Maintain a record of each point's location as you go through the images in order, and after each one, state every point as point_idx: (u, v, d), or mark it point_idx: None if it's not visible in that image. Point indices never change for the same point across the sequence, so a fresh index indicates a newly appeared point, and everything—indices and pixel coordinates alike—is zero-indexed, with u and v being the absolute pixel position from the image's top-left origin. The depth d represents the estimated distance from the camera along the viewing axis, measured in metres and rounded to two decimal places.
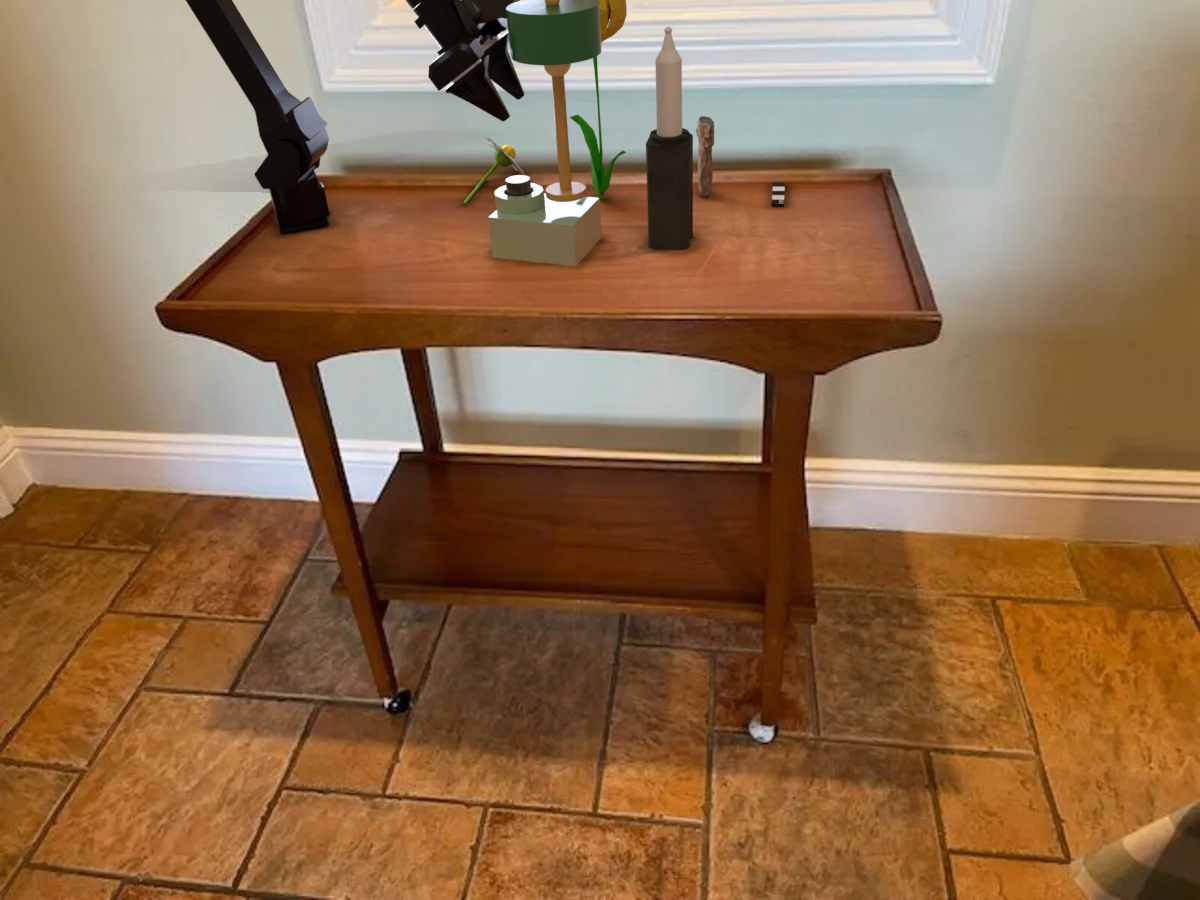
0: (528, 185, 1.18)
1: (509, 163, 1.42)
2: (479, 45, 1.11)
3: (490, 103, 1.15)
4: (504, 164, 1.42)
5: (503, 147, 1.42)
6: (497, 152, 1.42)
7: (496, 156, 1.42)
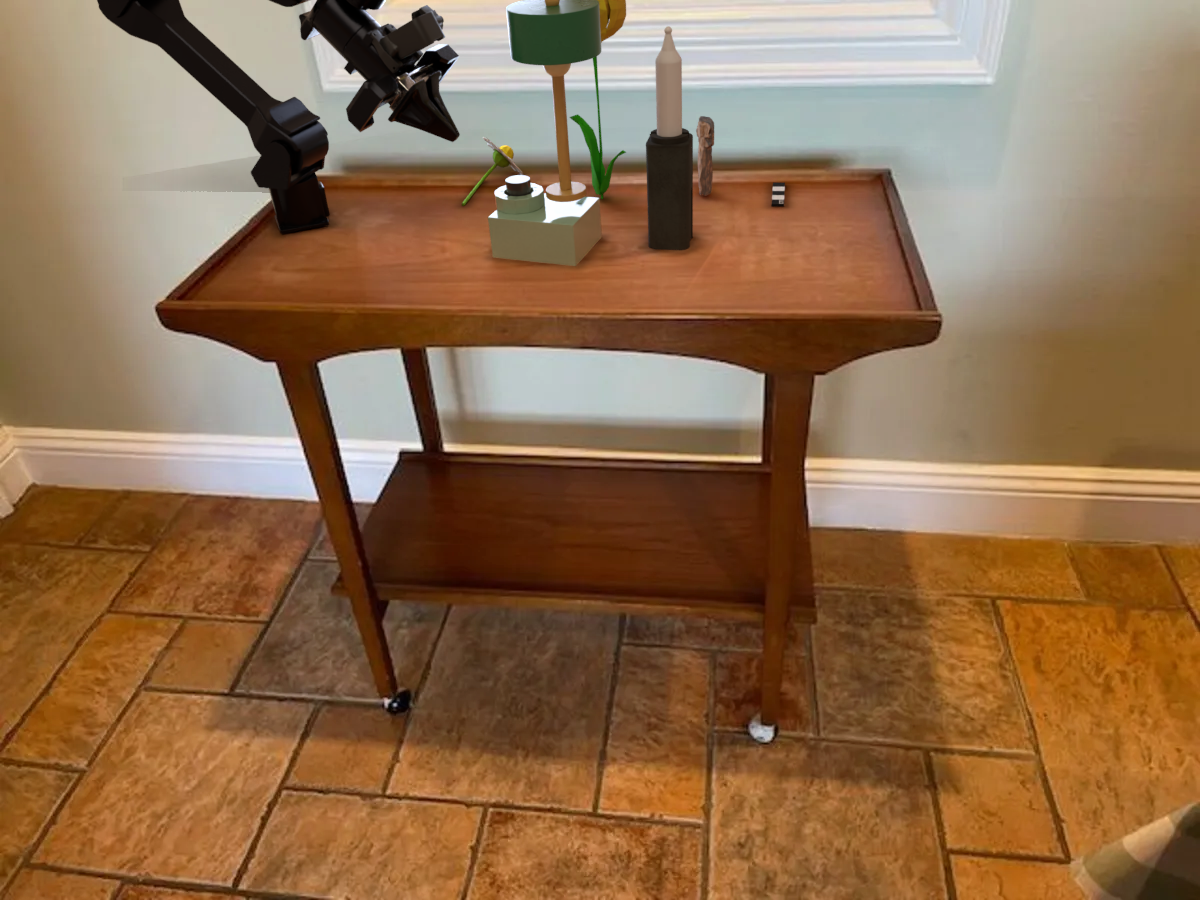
0: (528, 185, 1.18)
1: (507, 163, 1.42)
2: (392, 81, 1.10)
3: (435, 125, 1.17)
4: (502, 164, 1.42)
5: (501, 147, 1.42)
6: (495, 152, 1.41)
7: (494, 156, 1.41)
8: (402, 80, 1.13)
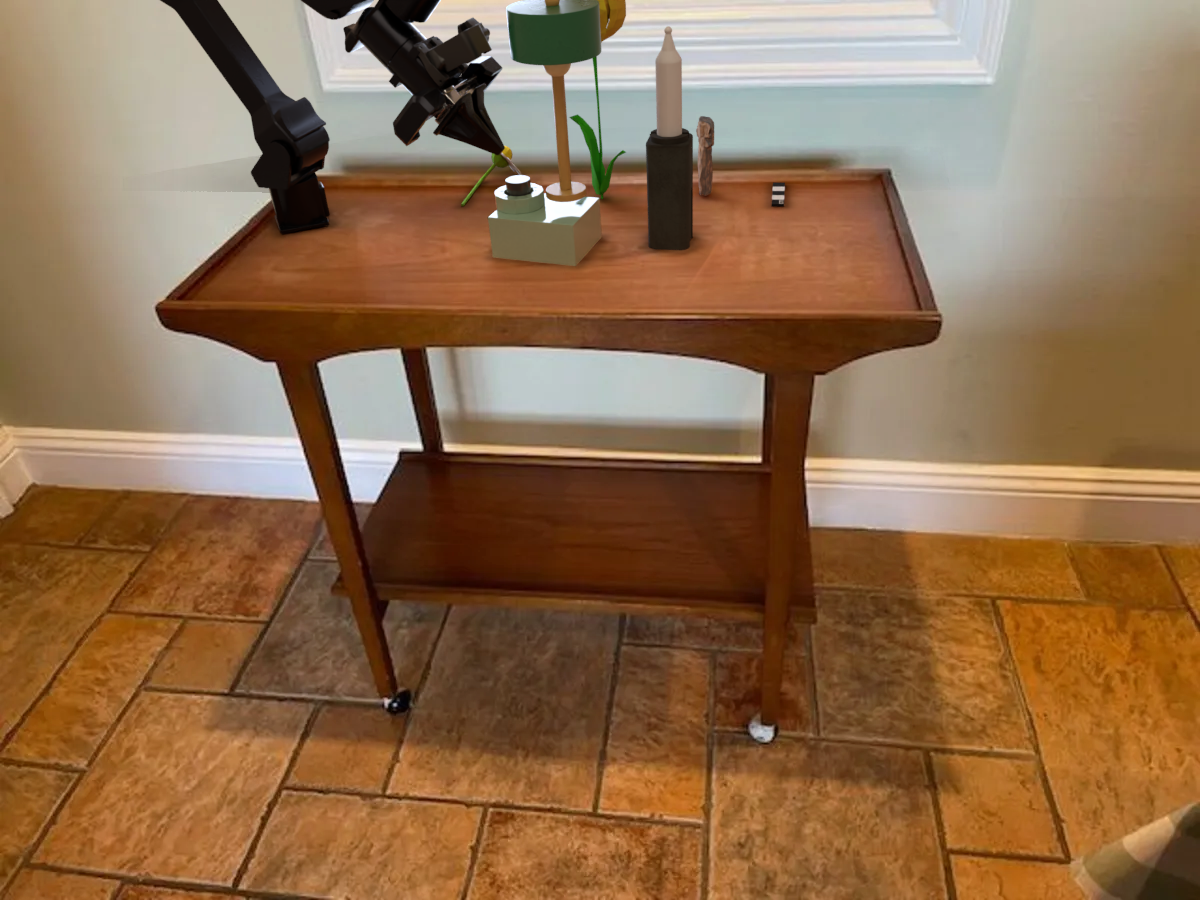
0: (528, 185, 1.18)
1: (506, 164, 1.42)
2: (440, 94, 1.09)
3: (480, 139, 1.16)
4: (501, 165, 1.42)
5: None
6: None
7: (493, 157, 1.41)
8: (448, 93, 1.12)
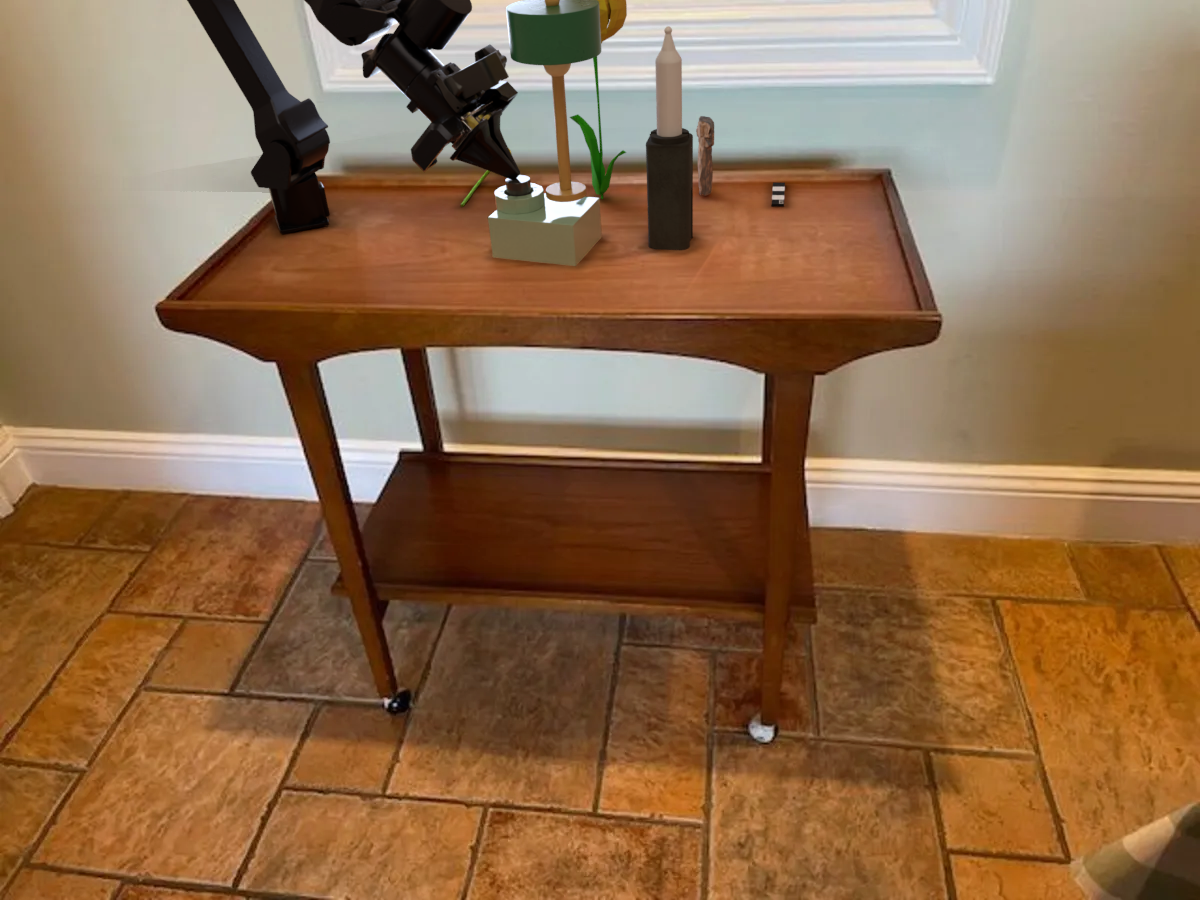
0: (528, 185, 1.18)
1: None
2: (458, 121, 1.10)
3: (496, 164, 1.17)
4: None
5: None
6: None
7: None
8: (466, 120, 1.13)
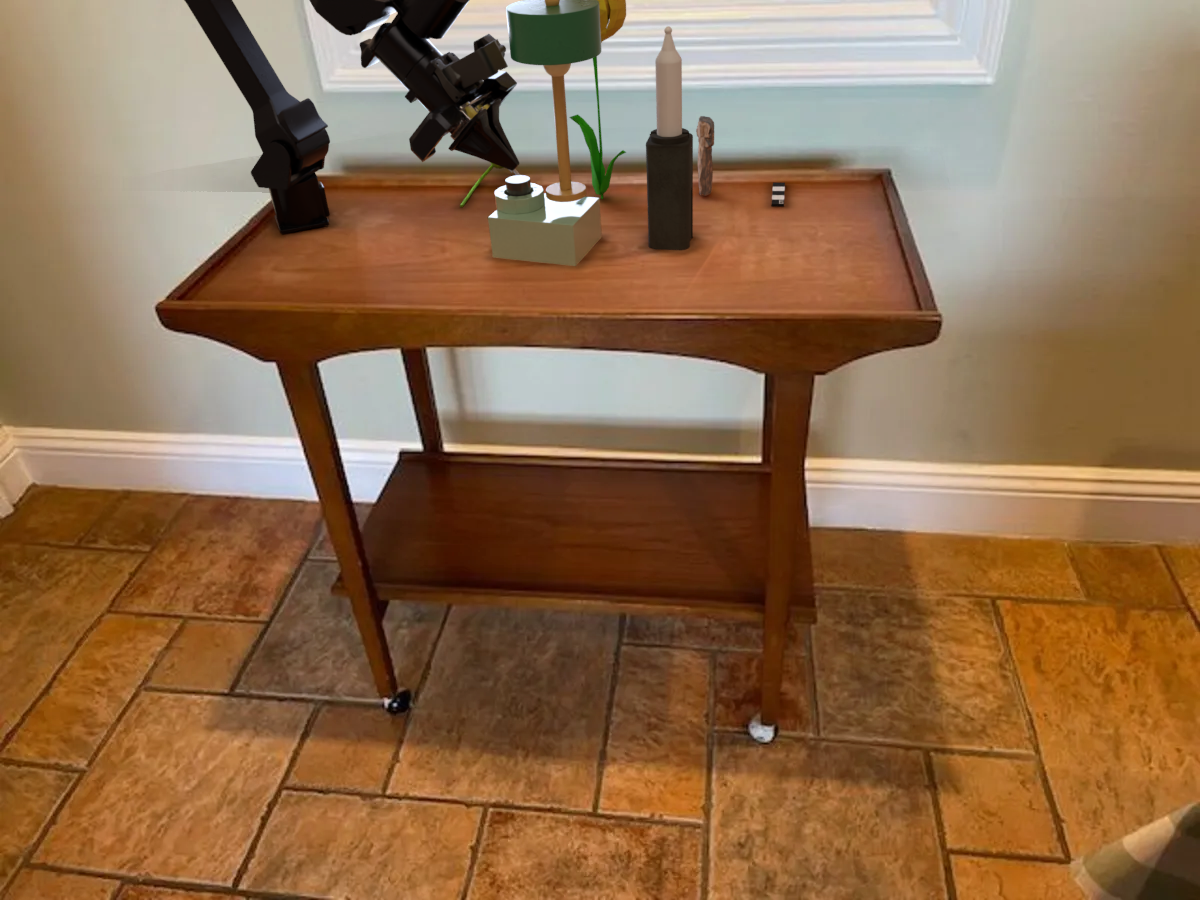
0: (528, 185, 1.18)
1: None
2: (456, 111, 1.09)
3: (495, 154, 1.16)
4: (499, 166, 1.42)
5: None
6: None
7: None
8: (464, 109, 1.12)
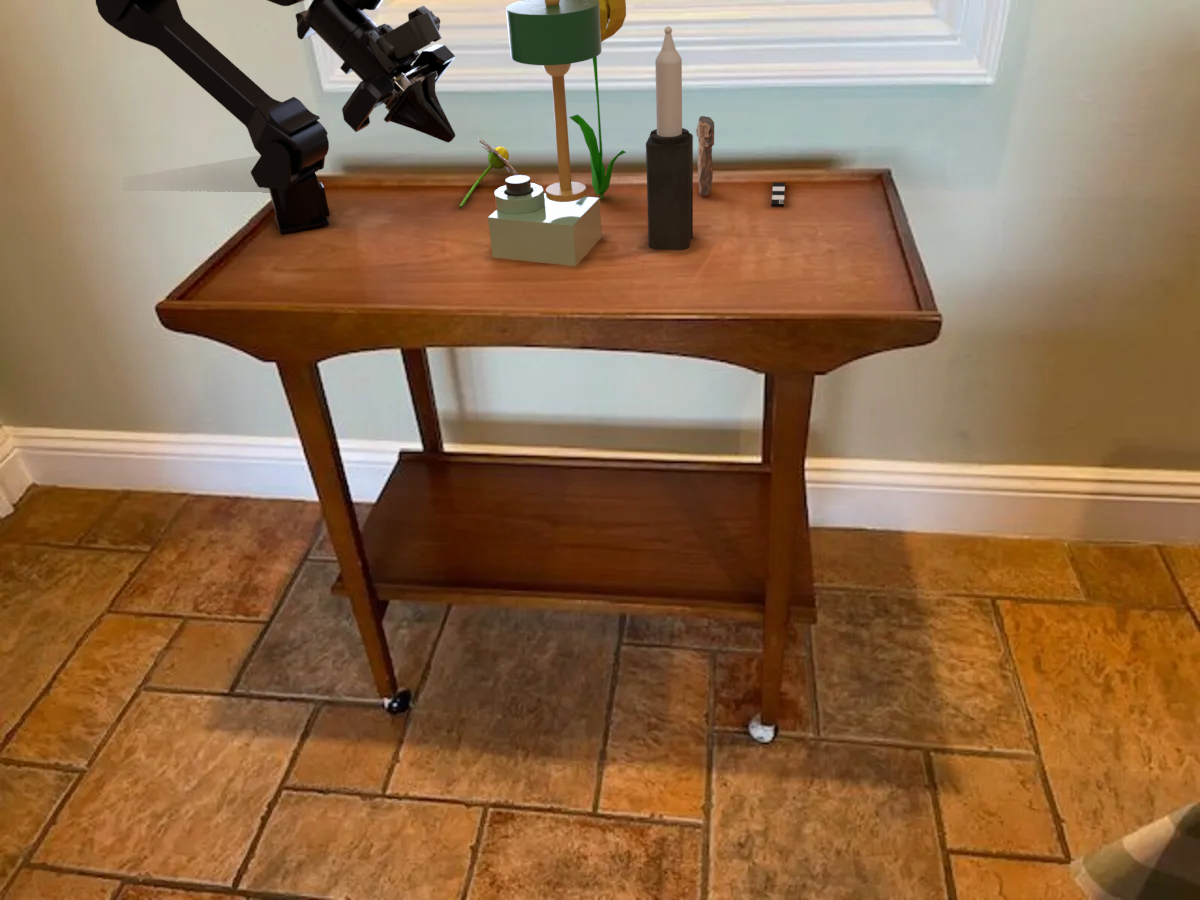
0: (528, 185, 1.18)
1: (503, 165, 1.42)
2: (388, 81, 1.10)
3: (431, 126, 1.17)
4: (497, 166, 1.41)
5: (496, 149, 1.41)
6: (491, 154, 1.41)
7: (490, 158, 1.41)
8: (398, 80, 1.13)
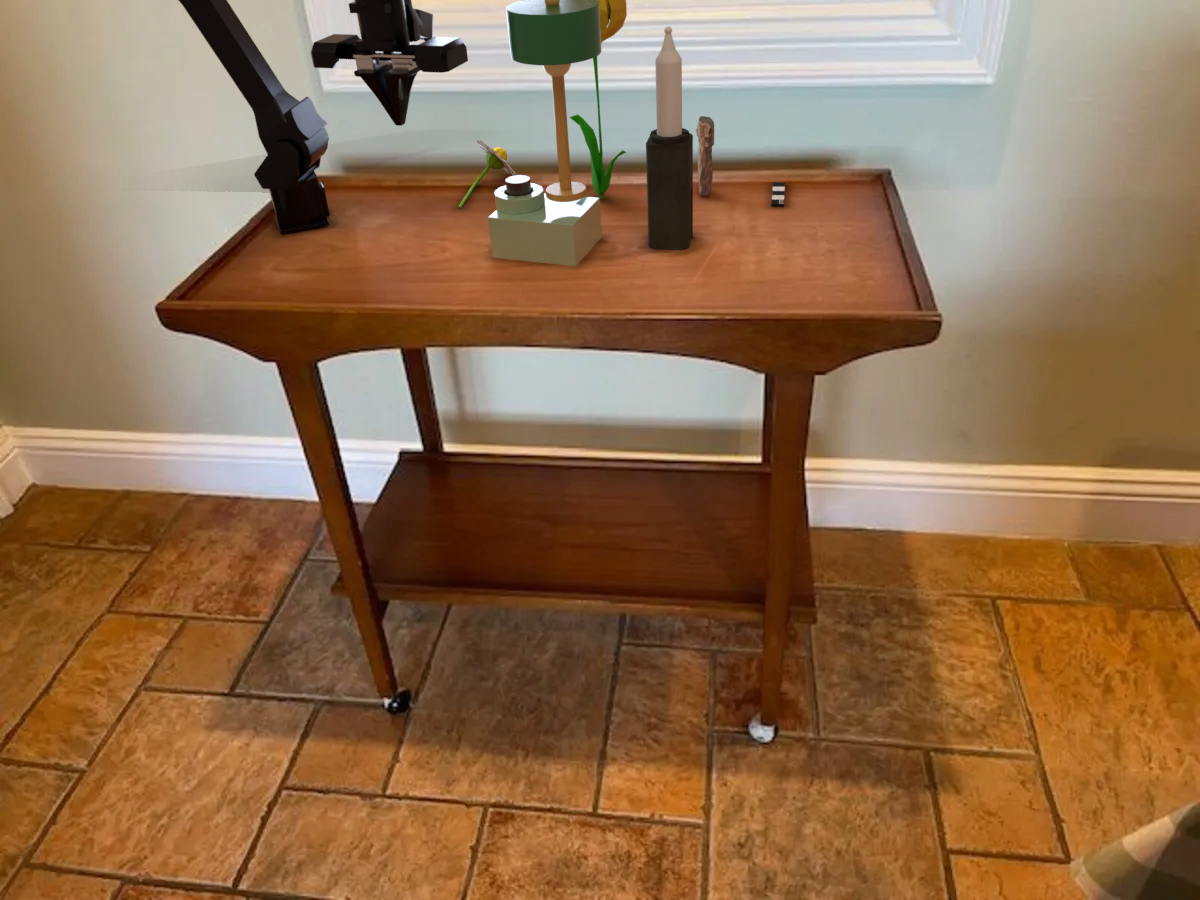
0: (528, 185, 1.18)
1: (501, 165, 1.42)
2: None
3: (404, 104, 1.22)
4: (496, 166, 1.41)
5: (495, 149, 1.41)
6: (489, 155, 1.41)
7: (488, 159, 1.41)
8: None
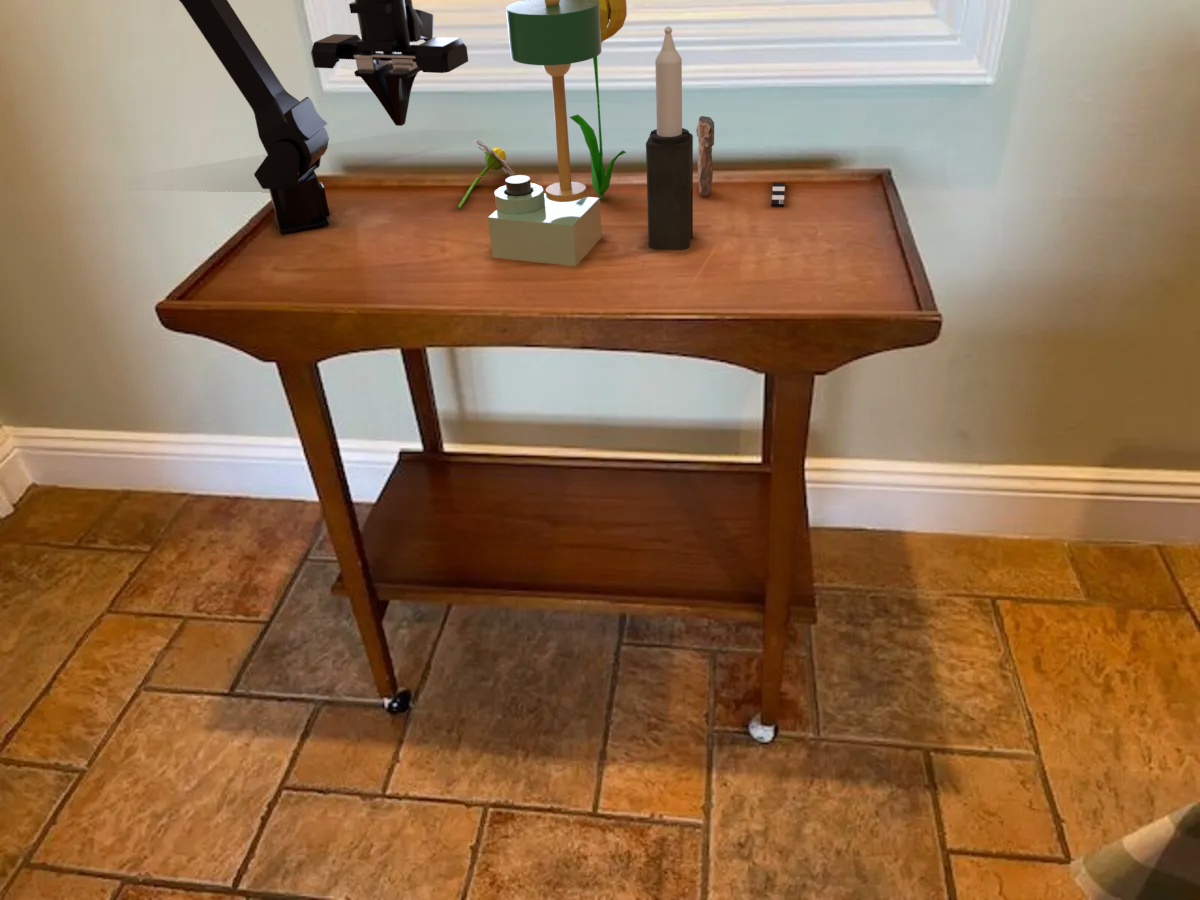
0: (528, 185, 1.18)
1: (500, 166, 1.41)
2: None
3: (404, 104, 1.22)
4: (495, 167, 1.41)
5: (494, 150, 1.41)
6: (488, 155, 1.41)
7: (487, 159, 1.41)
8: None
